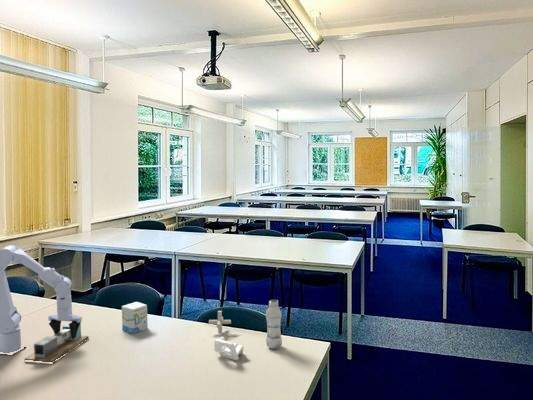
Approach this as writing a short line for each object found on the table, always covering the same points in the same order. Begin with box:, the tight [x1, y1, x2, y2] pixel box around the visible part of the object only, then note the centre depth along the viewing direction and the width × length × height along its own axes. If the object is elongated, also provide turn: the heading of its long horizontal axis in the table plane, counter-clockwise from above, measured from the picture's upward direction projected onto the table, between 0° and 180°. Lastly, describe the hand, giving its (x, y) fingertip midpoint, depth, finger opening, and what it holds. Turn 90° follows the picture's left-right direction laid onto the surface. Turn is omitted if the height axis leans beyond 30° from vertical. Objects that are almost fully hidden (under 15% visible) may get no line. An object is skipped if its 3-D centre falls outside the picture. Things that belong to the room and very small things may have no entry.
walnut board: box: [24, 335, 89, 362], centre depth 175 cm, size 12×24×2 cm, turn 170°
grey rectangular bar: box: [51, 328, 71, 345], centre depth 178 cm, size 3×13×3 cm, turn 170°
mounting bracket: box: [213, 336, 244, 361], centre depth 168 cm, size 12×6×11 cm, turn 59°
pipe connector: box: [208, 310, 232, 334], centre depth 191 cm, size 10×10×10 cm
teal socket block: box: [62, 322, 82, 340], centre depth 184 cm, size 6×4×6 cm
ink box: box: [121, 301, 149, 334], centre depth 196 cm, size 8×8×12 cm
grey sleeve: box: [33, 335, 58, 359], centre depth 168 cm, size 5×8×6 cm, turn 170°
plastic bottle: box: [265, 299, 283, 350], centre depth 174 cm, size 6×7×20 cm
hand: (65, 337), depth 180 cm, fingers open, 7 cm apart
